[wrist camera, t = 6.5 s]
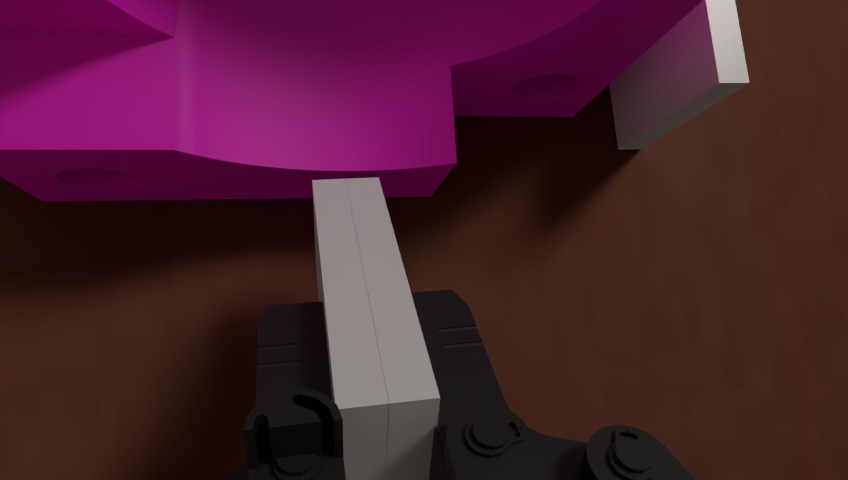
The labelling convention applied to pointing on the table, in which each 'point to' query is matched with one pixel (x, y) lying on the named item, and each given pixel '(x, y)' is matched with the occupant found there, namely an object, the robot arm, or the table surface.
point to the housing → (680, 75)
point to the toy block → (288, 88)
